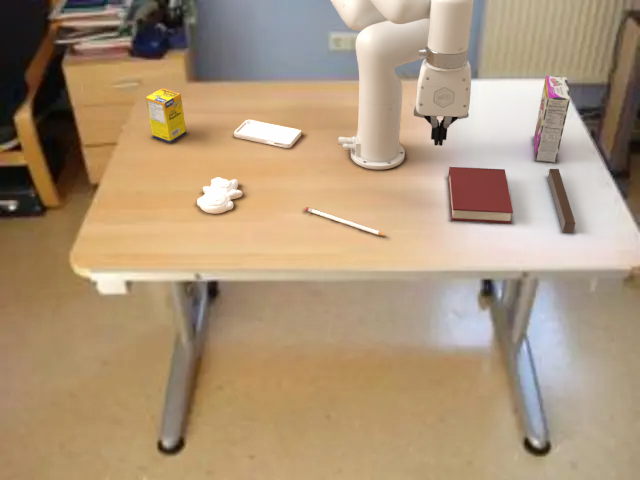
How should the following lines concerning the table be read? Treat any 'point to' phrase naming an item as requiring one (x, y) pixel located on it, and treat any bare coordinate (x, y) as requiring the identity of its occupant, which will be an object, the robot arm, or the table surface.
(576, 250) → the table surface
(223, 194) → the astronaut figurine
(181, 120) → the supplement box
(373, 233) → the pencil
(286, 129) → the phone case
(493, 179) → the book
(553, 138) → the candy bar box
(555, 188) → the rail
